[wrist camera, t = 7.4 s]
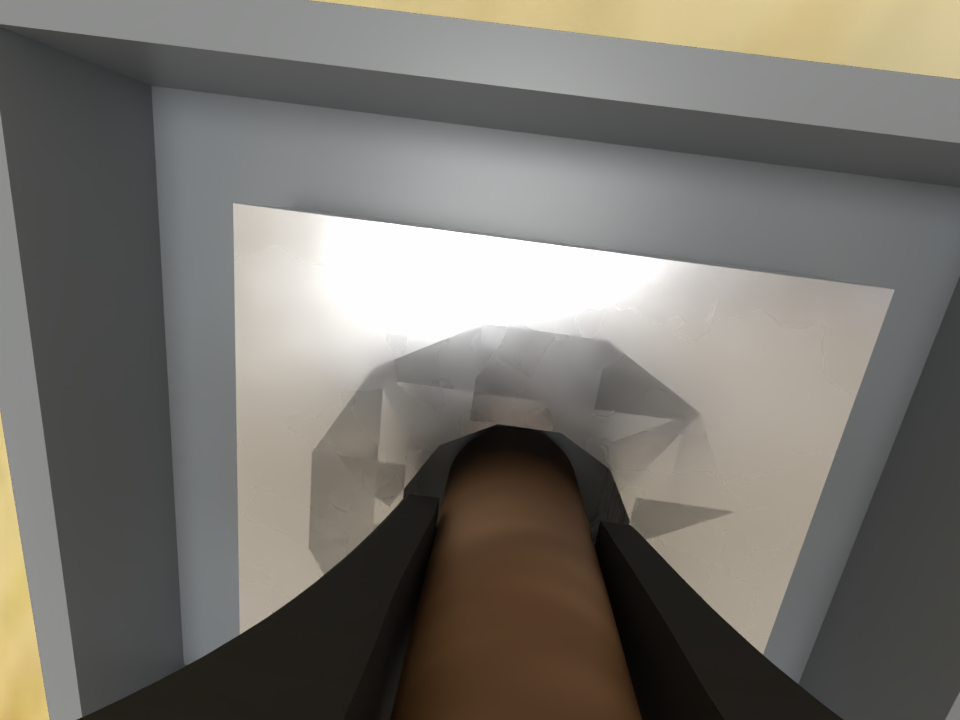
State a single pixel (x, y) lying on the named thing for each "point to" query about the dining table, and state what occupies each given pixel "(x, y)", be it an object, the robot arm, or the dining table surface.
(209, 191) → the open box
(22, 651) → the dining table surface
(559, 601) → the peg
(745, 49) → the dining table surface
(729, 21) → the dining table surface
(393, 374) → the bored plate
